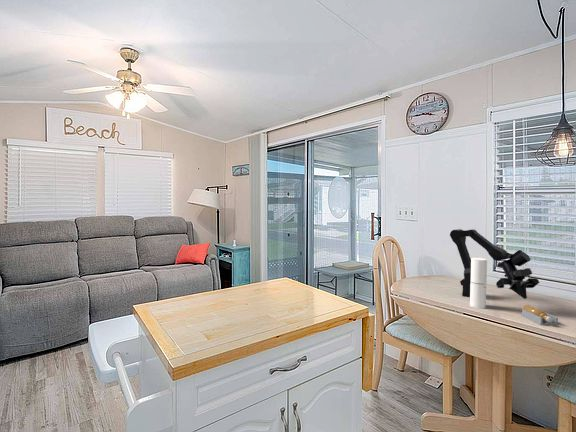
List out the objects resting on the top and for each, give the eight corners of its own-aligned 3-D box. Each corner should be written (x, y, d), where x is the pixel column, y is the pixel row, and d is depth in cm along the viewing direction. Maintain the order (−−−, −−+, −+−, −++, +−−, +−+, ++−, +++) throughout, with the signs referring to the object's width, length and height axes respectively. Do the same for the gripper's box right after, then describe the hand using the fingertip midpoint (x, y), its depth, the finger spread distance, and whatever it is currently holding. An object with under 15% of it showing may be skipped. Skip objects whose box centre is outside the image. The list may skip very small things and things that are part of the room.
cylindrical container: (466, 304, 173) (468, 257, 172) (479, 303, 174) (480, 257, 173) (475, 308, 166) (477, 260, 165) (488, 308, 167) (490, 260, 166)
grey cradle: (522, 316, 156) (522, 309, 155) (537, 315, 156) (538, 309, 156) (540, 324, 145) (540, 317, 144) (557, 324, 145) (557, 317, 145)
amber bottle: (521, 312, 157) (544, 323, 143) (524, 303, 156) (546, 313, 143) (530, 314, 157) (553, 325, 143) (532, 306, 157) (556, 316, 143)
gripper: (501, 262, 162) (515, 290, 152) (537, 262, 162) (554, 290, 152) (490, 273, 171) (503, 301, 160) (525, 274, 171) (540, 301, 161)
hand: (525, 298), depth 158 cm, fingers closed
